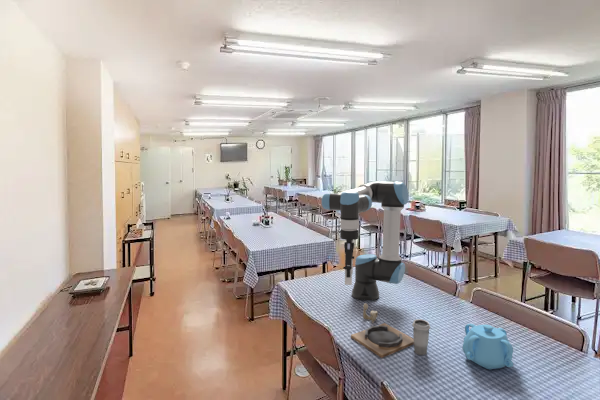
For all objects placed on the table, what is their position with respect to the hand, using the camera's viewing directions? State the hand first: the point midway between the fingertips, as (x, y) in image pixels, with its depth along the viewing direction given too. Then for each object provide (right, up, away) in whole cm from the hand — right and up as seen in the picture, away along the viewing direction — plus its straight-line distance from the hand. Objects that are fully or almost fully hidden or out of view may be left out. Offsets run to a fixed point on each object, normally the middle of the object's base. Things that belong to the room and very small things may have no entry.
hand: (348, 278), depth 138 cm
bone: (+14, -24, +18) cm, 33 cm away
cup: (+27, -27, -9) cm, 39 cm away
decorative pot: (+49, -27, -15) cm, 58 cm away
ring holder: (+14, -26, 0) cm, 30 cm away
